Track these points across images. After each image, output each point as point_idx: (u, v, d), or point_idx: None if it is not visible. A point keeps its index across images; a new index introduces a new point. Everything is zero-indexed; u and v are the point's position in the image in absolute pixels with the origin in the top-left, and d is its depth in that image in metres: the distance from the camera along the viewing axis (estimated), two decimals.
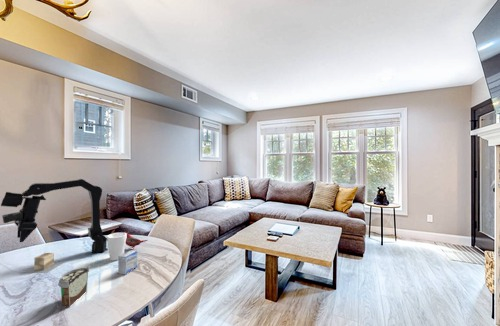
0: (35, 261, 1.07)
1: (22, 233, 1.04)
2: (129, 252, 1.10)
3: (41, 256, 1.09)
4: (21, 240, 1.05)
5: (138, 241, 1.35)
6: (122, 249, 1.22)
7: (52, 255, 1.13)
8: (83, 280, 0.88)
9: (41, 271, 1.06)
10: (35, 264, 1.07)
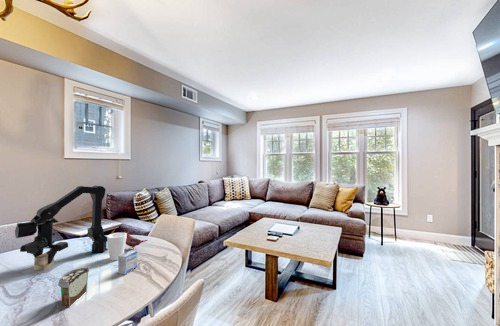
0: (35, 261, 1.07)
1: (51, 255, 1.10)
2: (129, 252, 1.10)
3: (41, 256, 1.09)
4: (50, 261, 1.11)
5: (138, 241, 1.35)
6: (122, 249, 1.22)
7: None
8: (83, 280, 0.88)
9: (41, 271, 1.06)
10: (35, 264, 1.07)
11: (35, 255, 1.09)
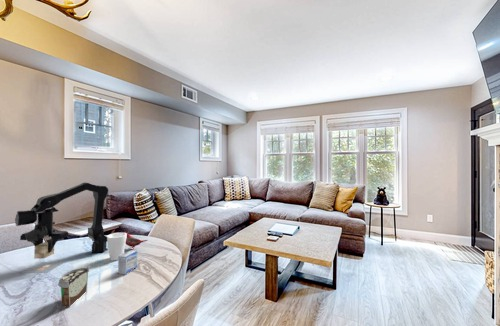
0: (35, 249, 1.07)
1: (51, 244, 1.10)
2: (129, 252, 1.10)
3: (41, 245, 1.09)
4: (50, 250, 1.11)
5: (138, 241, 1.35)
6: (122, 249, 1.22)
7: None
8: (83, 280, 0.88)
9: (41, 271, 1.06)
10: (35, 252, 1.07)
11: (35, 244, 1.09)
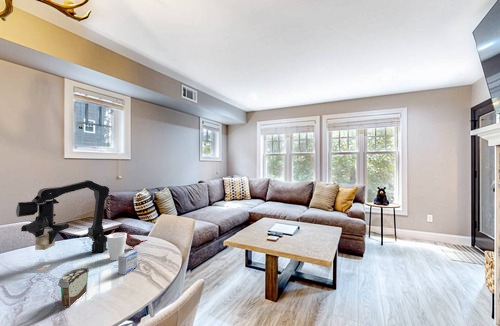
0: (36, 241, 1.08)
1: (52, 235, 1.10)
2: (129, 252, 1.10)
3: (42, 236, 1.09)
4: (51, 242, 1.11)
5: (138, 241, 1.35)
6: (122, 249, 1.22)
7: None
8: (83, 280, 0.88)
9: (41, 271, 1.06)
10: (36, 244, 1.08)
11: (36, 235, 1.09)
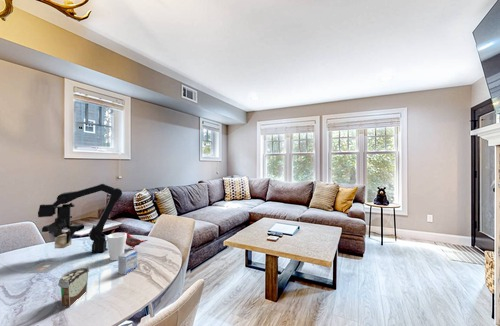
0: (55, 240, 1.19)
1: (69, 235, 1.22)
2: (129, 252, 1.10)
3: (60, 236, 1.21)
4: (68, 241, 1.23)
5: (138, 241, 1.35)
6: (122, 249, 1.22)
7: None
8: (83, 280, 0.88)
9: (41, 271, 1.06)
10: (55, 243, 1.19)
11: (55, 235, 1.21)
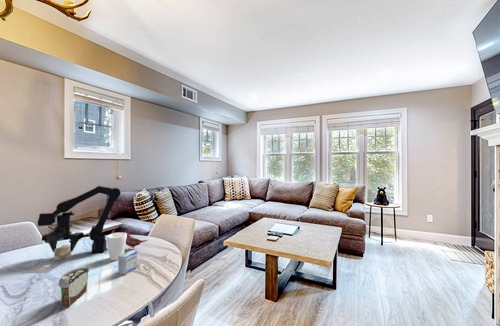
0: (55, 252, 1.19)
1: (73, 244, 1.22)
2: (129, 252, 1.10)
3: (60, 248, 1.21)
4: (72, 250, 1.23)
5: (138, 241, 1.35)
6: (122, 249, 1.22)
7: (69, 247, 1.25)
8: (83, 280, 0.88)
9: (41, 271, 1.06)
10: (55, 255, 1.19)
11: (50, 244, 1.21)
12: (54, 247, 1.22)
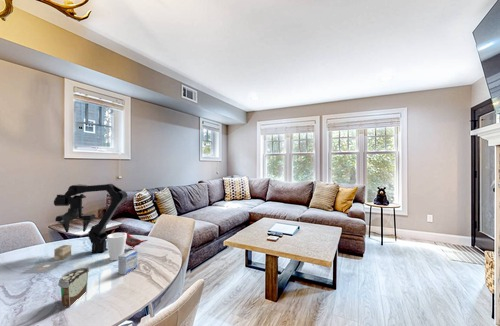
0: (55, 252, 1.19)
1: (86, 224, 1.30)
2: (129, 252, 1.10)
3: (60, 248, 1.21)
4: (84, 230, 1.31)
5: (138, 241, 1.35)
6: (122, 249, 1.22)
7: (69, 247, 1.25)
8: (83, 280, 0.88)
9: (41, 271, 1.06)
10: (55, 255, 1.19)
11: (64, 224, 1.28)
12: (67, 228, 1.30)
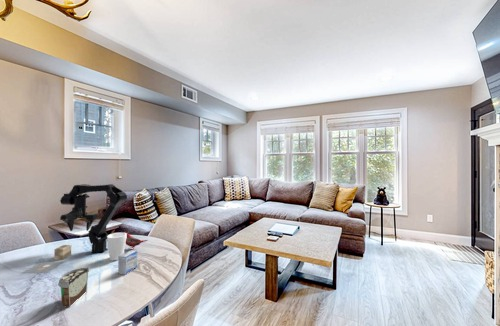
0: (55, 252, 1.19)
1: (89, 223, 1.32)
2: (129, 252, 1.10)
3: (60, 248, 1.21)
4: (88, 229, 1.33)
5: (138, 241, 1.35)
6: (122, 249, 1.22)
7: (69, 247, 1.25)
8: (83, 280, 0.88)
9: (41, 271, 1.06)
10: (55, 255, 1.19)
11: (68, 223, 1.31)
12: (71, 226, 1.32)
